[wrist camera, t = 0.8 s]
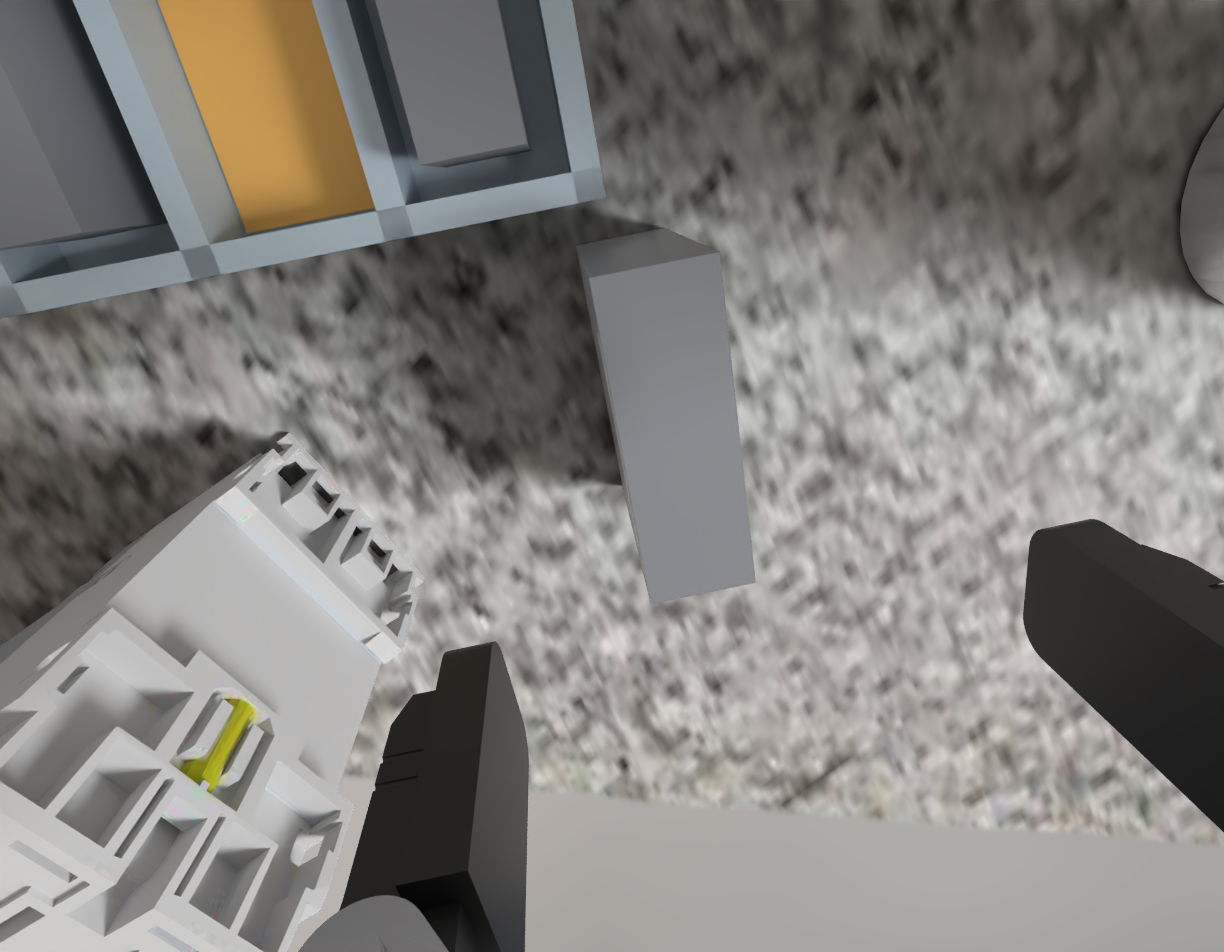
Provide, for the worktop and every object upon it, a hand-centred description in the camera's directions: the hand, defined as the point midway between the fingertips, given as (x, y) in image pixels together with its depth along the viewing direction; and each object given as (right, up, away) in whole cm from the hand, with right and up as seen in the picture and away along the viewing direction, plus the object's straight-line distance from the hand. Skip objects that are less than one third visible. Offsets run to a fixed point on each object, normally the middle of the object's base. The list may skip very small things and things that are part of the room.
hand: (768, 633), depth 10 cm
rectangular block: (-1, +6, +14) cm, 16 cm away
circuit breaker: (-18, -3, +17) cm, 25 cm away
